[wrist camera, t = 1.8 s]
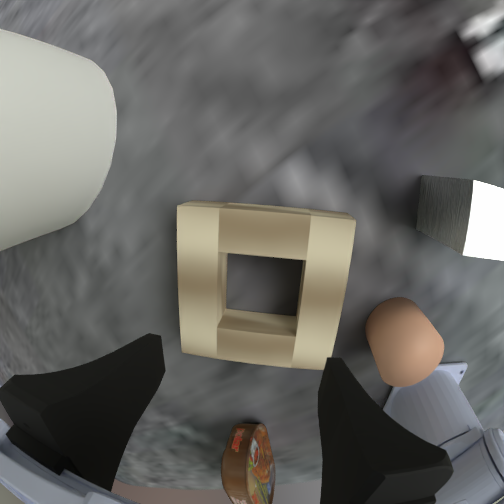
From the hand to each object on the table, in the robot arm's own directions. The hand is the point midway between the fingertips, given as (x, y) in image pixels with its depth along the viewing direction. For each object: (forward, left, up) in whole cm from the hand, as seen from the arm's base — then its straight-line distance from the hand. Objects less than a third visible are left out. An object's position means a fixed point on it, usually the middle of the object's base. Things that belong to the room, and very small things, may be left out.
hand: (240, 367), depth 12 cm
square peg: (+7, -13, -10) cm, 18 cm away
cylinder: (+11, +21, -11) cm, 26 cm away
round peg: (-3, -11, -10) cm, 15 cm away
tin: (-21, -1, -11) cm, 24 cm away
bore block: (0, 0, -10) cm, 10 cm away
